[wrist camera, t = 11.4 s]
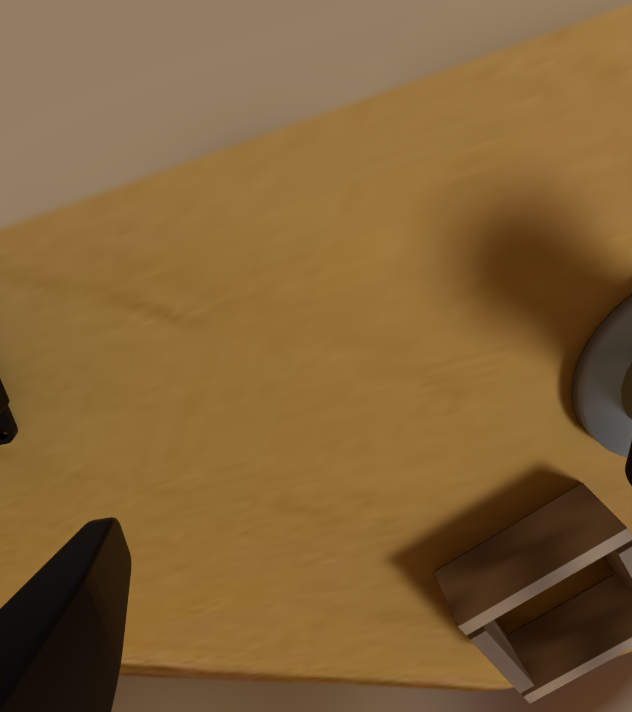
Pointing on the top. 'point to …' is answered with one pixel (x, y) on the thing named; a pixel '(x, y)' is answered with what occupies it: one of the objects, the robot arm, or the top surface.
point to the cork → (627, 392)
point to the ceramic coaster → (606, 381)
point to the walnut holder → (534, 575)
